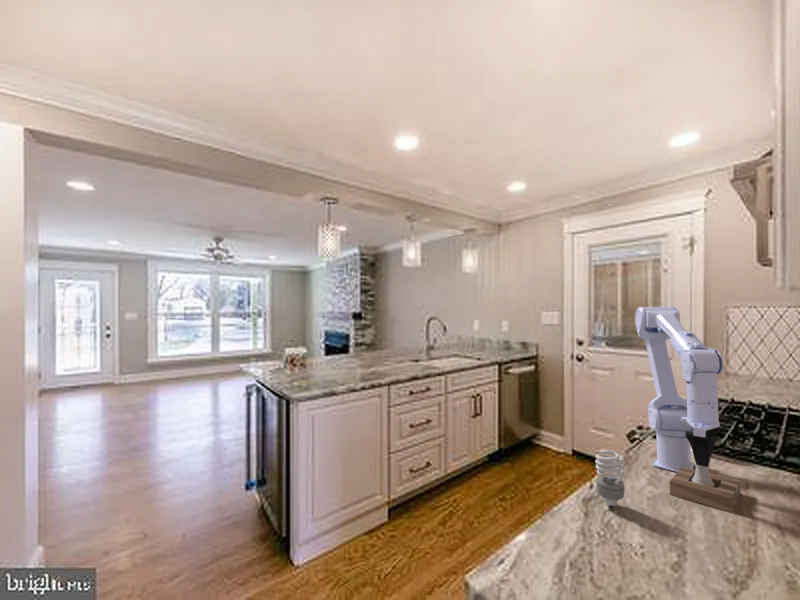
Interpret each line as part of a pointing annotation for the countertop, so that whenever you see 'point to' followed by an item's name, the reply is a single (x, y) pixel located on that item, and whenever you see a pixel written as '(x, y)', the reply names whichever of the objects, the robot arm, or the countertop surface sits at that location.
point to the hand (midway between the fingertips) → (703, 460)
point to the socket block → (706, 489)
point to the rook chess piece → (702, 476)
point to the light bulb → (610, 476)
